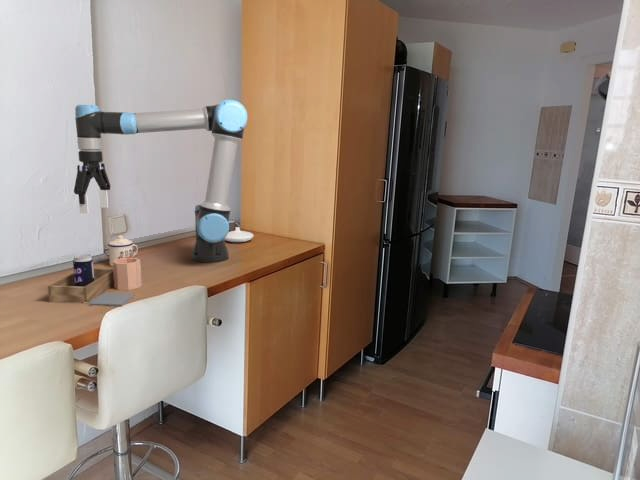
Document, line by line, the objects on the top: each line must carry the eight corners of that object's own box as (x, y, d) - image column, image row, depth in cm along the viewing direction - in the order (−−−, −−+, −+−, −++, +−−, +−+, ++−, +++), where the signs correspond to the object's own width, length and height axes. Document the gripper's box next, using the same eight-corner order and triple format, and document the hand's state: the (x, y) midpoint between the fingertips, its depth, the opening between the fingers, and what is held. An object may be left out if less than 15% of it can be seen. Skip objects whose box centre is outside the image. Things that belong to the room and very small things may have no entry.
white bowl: (254, 238, 240) (254, 224, 239) (252, 245, 225) (252, 230, 224) (224, 237, 240) (223, 224, 238) (219, 244, 224) (218, 230, 223)
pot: (144, 283, 162) (142, 258, 160) (135, 290, 154) (133, 264, 152) (121, 282, 162) (119, 257, 160) (111, 289, 154) (109, 263, 152)
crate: (117, 282, 161) (116, 269, 160) (87, 303, 141) (85, 287, 140) (84, 281, 162) (82, 268, 161) (49, 302, 141) (47, 286, 140)
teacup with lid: (119, 268, 178) (117, 239, 176) (104, 265, 183) (102, 236, 181) (145, 262, 188) (143, 234, 186) (130, 259, 193) (129, 231, 191)
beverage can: (80, 289, 154) (77, 254, 151) (97, 289, 154) (95, 254, 152) (72, 294, 148) (69, 258, 146) (91, 294, 149) (88, 258, 146)
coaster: (134, 295, 149) (134, 293, 149) (121, 306, 140) (121, 304, 139) (104, 294, 149) (103, 292, 149) (88, 305, 140) (88, 303, 140)
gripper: (98, 149, 176) (102, 205, 181) (58, 151, 152) (64, 215, 156) (117, 150, 176) (121, 205, 180) (80, 151, 151) (86, 216, 156)
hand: (94, 210), depth 168 cm, fingers open, 13 cm apart
